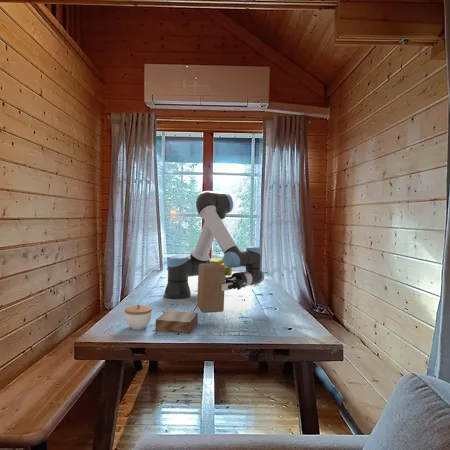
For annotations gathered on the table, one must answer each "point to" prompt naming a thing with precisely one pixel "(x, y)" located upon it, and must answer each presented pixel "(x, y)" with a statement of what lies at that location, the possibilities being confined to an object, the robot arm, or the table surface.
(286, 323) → the table surface
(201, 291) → the wooden block
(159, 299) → the table surface
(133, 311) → the lidded jar
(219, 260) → the toy blocks
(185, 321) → the base brick
